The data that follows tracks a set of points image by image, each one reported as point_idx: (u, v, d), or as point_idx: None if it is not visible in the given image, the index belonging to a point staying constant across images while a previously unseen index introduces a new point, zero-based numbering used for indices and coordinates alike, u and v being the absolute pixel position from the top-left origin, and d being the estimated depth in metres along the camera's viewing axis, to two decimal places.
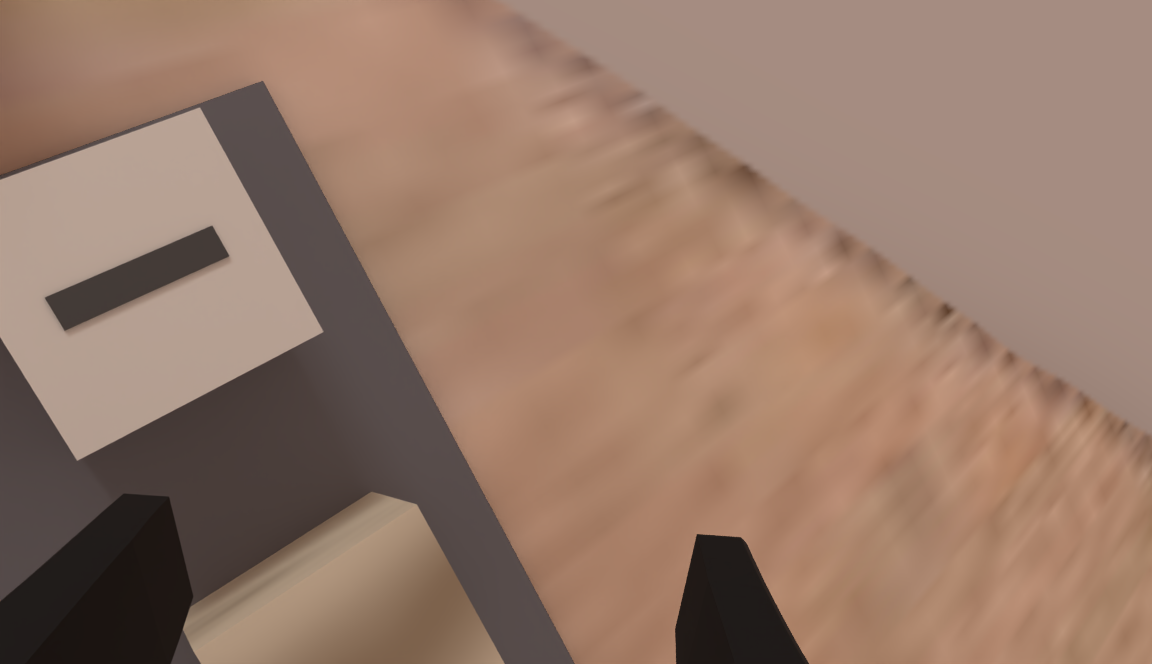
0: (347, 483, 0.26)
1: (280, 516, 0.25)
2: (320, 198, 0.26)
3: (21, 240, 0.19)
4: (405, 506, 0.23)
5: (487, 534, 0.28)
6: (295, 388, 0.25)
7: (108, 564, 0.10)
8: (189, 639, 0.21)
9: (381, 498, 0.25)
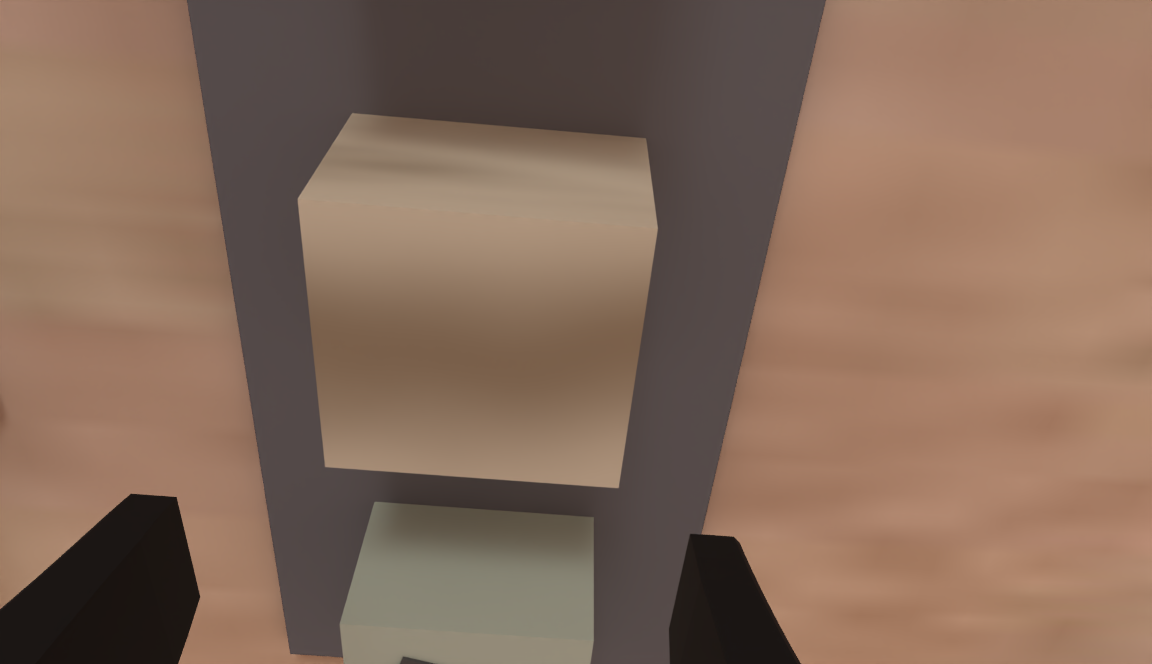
0: (625, 108, 0.18)
1: (525, 89, 0.18)
2: None
3: None
4: (646, 216, 0.15)
5: (737, 280, 0.20)
6: None
7: (117, 564, 0.10)
8: (317, 170, 0.16)
9: (642, 164, 0.17)
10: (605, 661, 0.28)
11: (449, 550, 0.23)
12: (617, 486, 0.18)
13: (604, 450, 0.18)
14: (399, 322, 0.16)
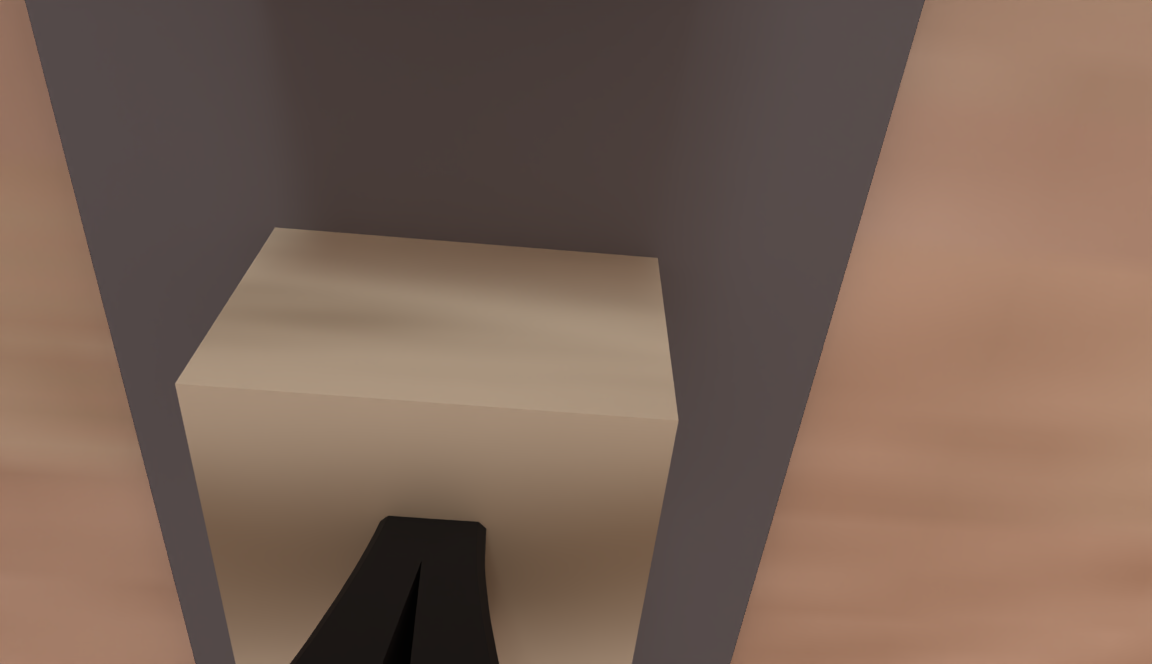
0: (631, 221, 0.14)
1: (499, 198, 0.13)
2: None
3: None
4: (661, 397, 0.11)
5: (771, 423, 0.16)
6: (661, 10, 0.12)
7: (411, 584, 0.10)
8: (212, 329, 0.11)
9: (653, 303, 0.13)
10: None
11: None
12: None
13: None
14: (326, 528, 0.12)
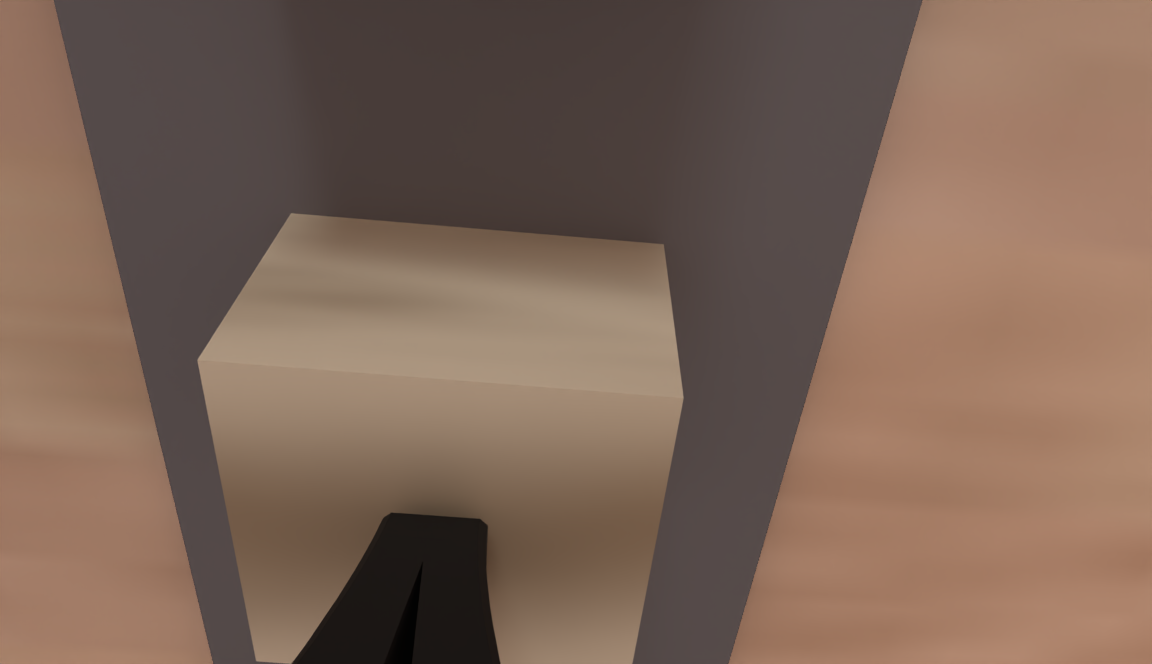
0: (638, 208, 0.14)
1: (509, 185, 0.14)
2: None
3: None
4: (667, 376, 0.11)
5: (774, 408, 0.16)
6: (668, 1, 0.12)
7: (411, 584, 0.10)
8: (232, 309, 0.12)
9: (660, 288, 0.13)
10: None
11: None
12: None
13: (609, 646, 0.14)
14: (341, 503, 0.12)
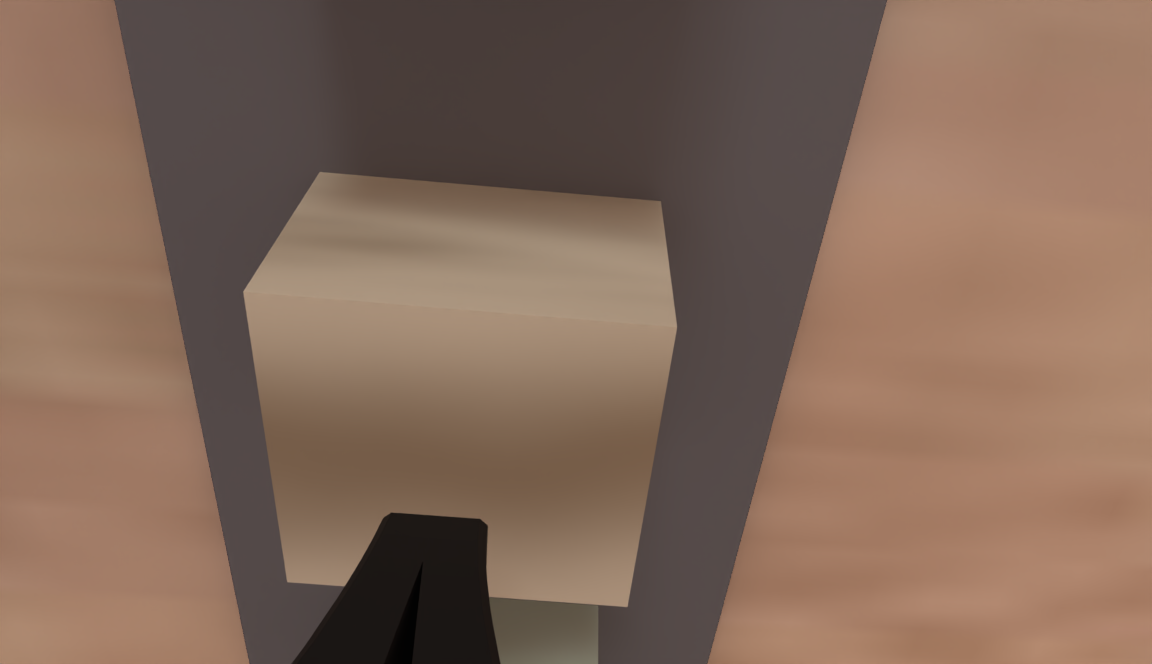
0: (637, 167, 0.15)
1: (520, 145, 0.15)
2: None
3: None
4: (662, 309, 0.13)
5: (763, 358, 0.17)
6: None
7: (411, 584, 0.10)
8: (271, 251, 0.13)
9: (657, 237, 0.14)
10: None
11: None
12: (626, 605, 0.16)
13: (611, 567, 0.15)
14: (369, 428, 0.13)
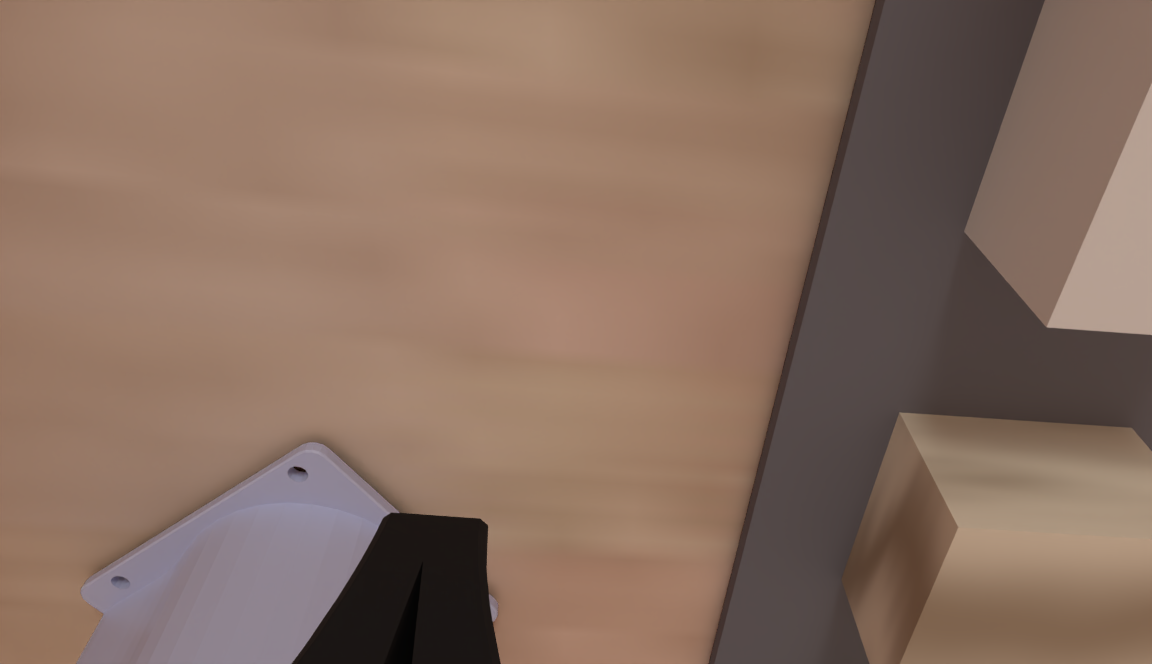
0: (1122, 407, 0.22)
1: (1046, 395, 0.22)
2: None
3: None
4: None
5: None
6: None
7: (412, 584, 0.10)
8: (940, 490, 0.20)
9: None
10: None
11: None
12: None
13: None
14: (996, 605, 0.20)
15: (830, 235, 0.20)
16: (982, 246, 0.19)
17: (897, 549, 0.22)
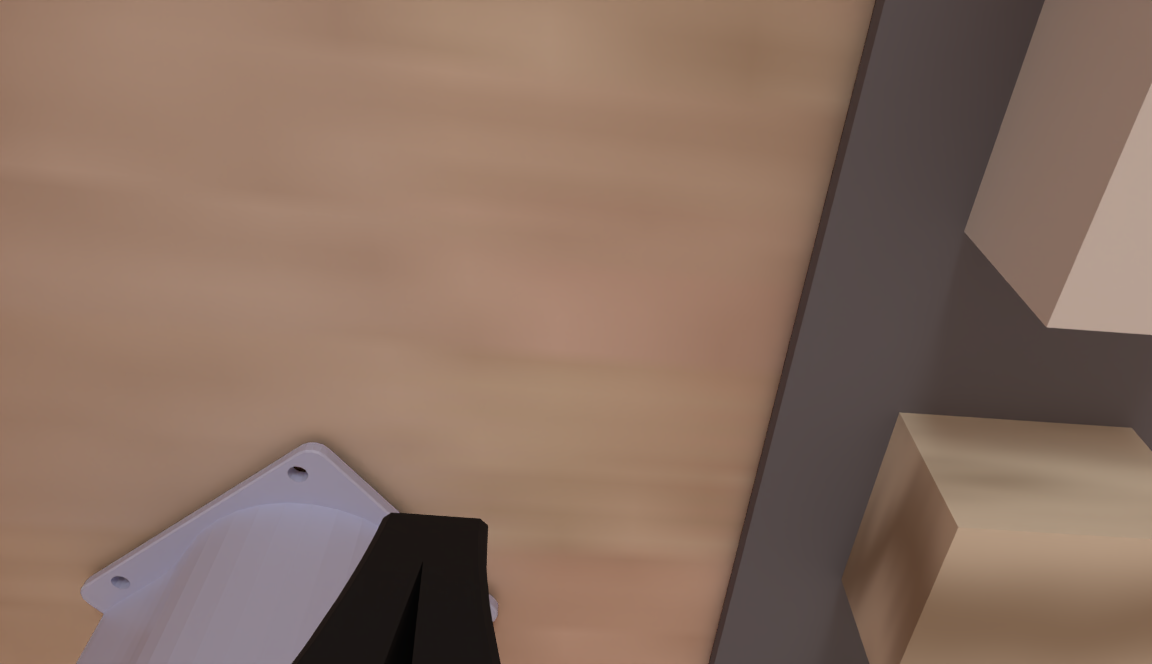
0: (1122, 407, 0.22)
1: (1046, 395, 0.22)
2: None
3: None
4: None
5: None
6: None
7: (412, 584, 0.10)
8: (940, 490, 0.20)
9: None
10: None
11: None
12: None
13: None
14: (996, 605, 0.20)
15: (830, 235, 0.20)
16: (982, 246, 0.19)
17: (897, 549, 0.22)
